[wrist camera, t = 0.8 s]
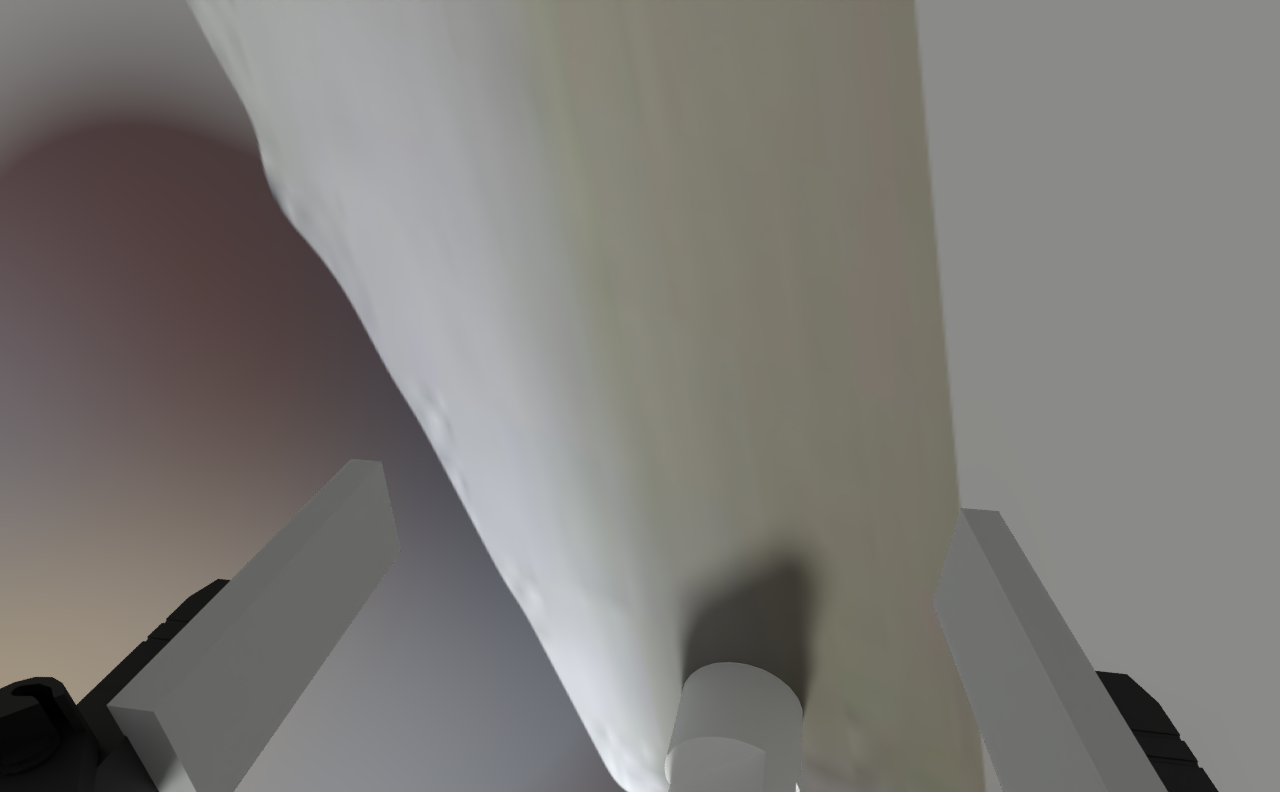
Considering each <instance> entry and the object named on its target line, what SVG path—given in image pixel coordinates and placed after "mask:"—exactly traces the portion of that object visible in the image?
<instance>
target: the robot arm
mask: <svg viewBox="0 0 1280 792" xmlns="http://www.w3.org/2000/svg"><path fill="white" fill-rule="evenodd" d="M400 552H401V549H400V545H399V540H398V535H397V531H396V526H395V522H394V517H393V513H392V509H391V503H390V499H389V494H388V490H387V485H386V481H385V477H384V472H383V467H382V463H381V462H380V461H367V460H354V459H351V460H350V461H349V462H348V463H347V464H346V465H345V466H344V467H343V468H342V469H341V470H340V471H339V472H338V473H337V474H336V475H335V476H334V477H333V478H332V479H331V480H330V481H329V482H328V483H327V484H326V485H325V486H324V487H323V488H322V489H321V490H320V491H319V492H318V493H317V494H316V495H315V496H314V497H313V498H312V499H311V500H310V501H309V502H308V503H307V504H306V505H305V506H304V507H303V508H302V509H301V510H300V511H299V512H298V513H297V514H296V515H295V516H294V517H293V518H292V519H291V520H290V521H289V522H288V523H287V524H286V525H285V526H284V527H283V528H282V529H281V530H280V531H279V532H278V533H277V534H276V535H275V536H274V537H273V538H272V539H271V540H270V541H269V542H268V544H266V545H265V547H263V548H262V550H260V552H258V553H257V554H256V555H255V556H254V557H253V559H251V561H249V562H248V563H247V564H246V565H245V567H244V568H243V569H242V570H241V571H240V572H239V573H238V574H237V575H236V576H235V577H234V578H233V579H232V580H223V579H217V580H216V581H214V582H213V583H211V584H209V585H208V586H206V587H204V588H203V589H201V590H200V591H198V592H196V593H195V594H193V595H191V596H190V597H189V598H188V599H186V600H185V601H184V602H183V603H182V604H181V605H180V606H179V607H178V608H177V609H176V610H175V611H174V612H173V613H172V614H171V615H170V616H169V617H168V618H167V619H166V622H165V623H161V625H159V626H158V628H156V629H155V630H154V631H153V632H152V633H151V634H150V635H149V636H148V640H147V641H146V642H145V641H143V642H142V643H141V644H139V645H138V647H136V648H135V649H134V650H133V652H131V653H130V654H129V655H128V656H127V657H126V658H125V659H124V660H123V661H122V662H121V663H120V664H119V665H118V666H117V667H116V668H115V669H113V670H112V671H111V672H110V674H108V675H107V676H106V677H105V678H104V679H103V680H102V681H101V682H100V683H99V684H98V685H97V686H96V687H95V688H94V689H93V690H92V691H91V692H89V693H88V694H87V695H86V696H85V697H84V699H82V700H81V701H80V702H79V703H78V704H77V705H76V704H75V703H74V701H73V699H72V698H71V697H70V695H69V693H68V691H67V690H66V688H65V687H64V685H63V683H61V682H60V681H58V680H56V679H55V678H53V677H34V678H30V679H26V680H22V681H18V682H14V683H12V684H10V685H8V686H5V687H3V688H1V689H0V792H233V791H234V790H235V789H236V788H237V786H238V784H239V783H240V782H241V780H242V779H243V777H244V776H245V775H246V773H247V772H248V770H249V769H250V767H251V766H252V765H253V763H254V762H255V760H256V759H257V757H258V756H259V754H260V753H261V751H262V750H263V749H264V747H265V746H266V744H267V743H268V742H269V740H270V738H271V737H272V736H273V734H274V733H275V732H276V730H277V729H278V727H279V726H280V724H281V723H282V722H283V720H284V719H285V717H286V716H287V714H288V713H289V712H290V710H291V709H292V707H293V706H294V704H295V703H296V701H297V700H298V699H299V697H300V696H301V694H302V693H303V691H304V690H305V688H306V687H307V686H308V684H309V683H310V681H311V680H312V679H313V677H314V676H315V674H316V673H317V671H318V670H319V668H320V667H321V666H322V664H323V663H324V661H325V660H326V658H327V657H328V656H329V654H330V652H331V651H332V650H333V648H334V647H335V645H336V644H337V643H338V641H339V640H340V638H341V637H342V635H343V634H344V633H345V631H346V630H347V628H348V627H349V625H350V624H351V623H352V621H353V619H354V618H355V617H356V615H357V614H358V612H359V611H360V610H361V608H362V607H363V605H364V604H365V602H366V601H367V600H368V598H369V597H370V595H371V594H372V592H373V591H374V590H375V588H376V587H377V585H378V584H379V582H380V581H381V580H382V578H383V577H384V575H385V574H386V572H387V571H388V569H389V568H390V567H391V565H392V564H393V562H394V561H395V559H396V558H397V557H398V555H399V554H400ZM933 606H934V608H935V611H936V614H937V616H938V619H939V622H940V624H941V627H942V630H943V632H944V635H945V638H946V640H947V643H948V646H949V649H950V651H951V654H952V657H953V659H954V662H955V665H956V667H957V670H958V673H959V675H960V678H961V681H962V683H963V686H964V689H965V691H966V694H967V697H968V699H969V702H970V705H971V707H972V710H973V713H974V715H975V718H976V721H977V723H978V726H979V729H980V731H981V734H982V737H983V739H984V742H985V744H986V747H987V750H988V753H989V755H990V758H991V761H992V763H993V766H994V769H995V771H996V774H997V776H998V779H999V782H1000V785H1001V787H1002V790H1003V792H1218V790H1217V789H1216V788H1215V786H1214V784H1213V783H1212V781H1211V780H1210V779H1209V777H1208V775H1207V774H1206V773H1205V771H1204V770H1203V768H1199V766H1198V764H1197V762H1198V761H1197V759H1196V758H1195V756H1194V755H1193V753H1192V752H1191V750H1190V749H1189V747H1188V746H1187V744H1186V743H1185V742H1184V741H1181V739H1180V734H1179V733H1178V731H1177V730H1176V728H1175V727H1174V725H1173V724H1172V722H1171V721H1170V719H1169V718H1168V716H1167V715H1166V713H1165V712H1164V710H1163V709H1162V707H1161V706H1160V704H1159V703H1158V702H1157V701H1156V700H1155V699H1154V698H1153V697H1151V696H1150V695H1149V694H1148V693H1147V692H1146V691H1145V690H1144V689H1143V688H1142V687H1140V686H1139V685H1138V684H1137V683H1136V682H1135V681H1134V680H1133V679H1131V678H1130V677H1129V676H1128V675H1127V674H1119V673H1109V672H1100V671H1095V670H1094V669H1093V667H1092V665H1091V664H1090V662H1089V660H1088V659H1087V657H1086V656H1085V654H1084V652H1083V650H1082V649H1081V647H1080V646H1079V644H1078V642H1077V640H1076V639H1075V637H1074V635H1073V634H1072V632H1071V630H1070V629H1069V627H1068V626H1067V624H1066V622H1065V621H1064V619H1063V617H1062V616H1061V614H1060V612H1059V611H1058V609H1057V607H1056V606H1055V604H1054V602H1053V601H1052V599H1051V597H1050V596H1049V594H1048V592H1047V591H1046V589H1045V587H1044V586H1043V584H1042V583H1041V581H1040V579H1039V577H1038V576H1037V574H1036V573H1035V571H1034V569H1033V568H1032V566H1031V564H1030V563H1029V561H1028V559H1027V558H1026V556H1025V554H1024V553H1023V551H1022V550H1021V548H1020V546H1019V544H1018V543H1017V541H1016V539H1015V538H1014V536H1013V534H1012V533H1011V531H1010V529H1009V528H1008V526H1007V525H1006V523H1005V521H1004V520H1003V518H1002V516H1001V515H1000V513H999V512H998V511H988V510H977V509H964V508H961V509H960V512H959V515H958V519H957V522H956V526H955V529H954V532H953V536H952V539H951V543H950V546H949V549H948V553H947V556H946V560H945V563H944V566H943V570H942V573H941V577H940V580H939V583H938V587H937V590H936V594H935V597H934V600H933Z"/></svg>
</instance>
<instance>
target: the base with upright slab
mask: <svg viewBox="0 0 1280 792" xmlns="http://www.w3.org/2000/svg"><path fill="white" fill-rule="evenodd" d="M802 727H803V710H802V707H801V704H800V702H799V699H798V697H797V696H796V695H795V693H794V692H793V691H792V689H791V688H790V687H789V686H788V685H787V684H785V683H784V682H783V681H782V680H780V679H779V678H778V677H776V676H775V675H773V674H771V673H769V672H767V671H765V670H763V669H761V668H757V667H754V666H751V665H748V664H742V663H734V662H722V663H713V664H710V665H707V666H703V667H701V668H699V669H698V670H696V671H695V672H693V673H692V674H691V675H690V676H689V677H688V679H687V680H686V681H685V683H684V687H683V690H682V694H681V699H680V703H679V707H678V711H677V715H676V720H675V724H674V728H673V732H672V737H671V741H670V745H669V749H668V753H667V758H666V762H665V766H664V767H665V774H666V778H667V780H668V782H669V784H670V788H669V792H800V783H801V755H802Z"/></svg>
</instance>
